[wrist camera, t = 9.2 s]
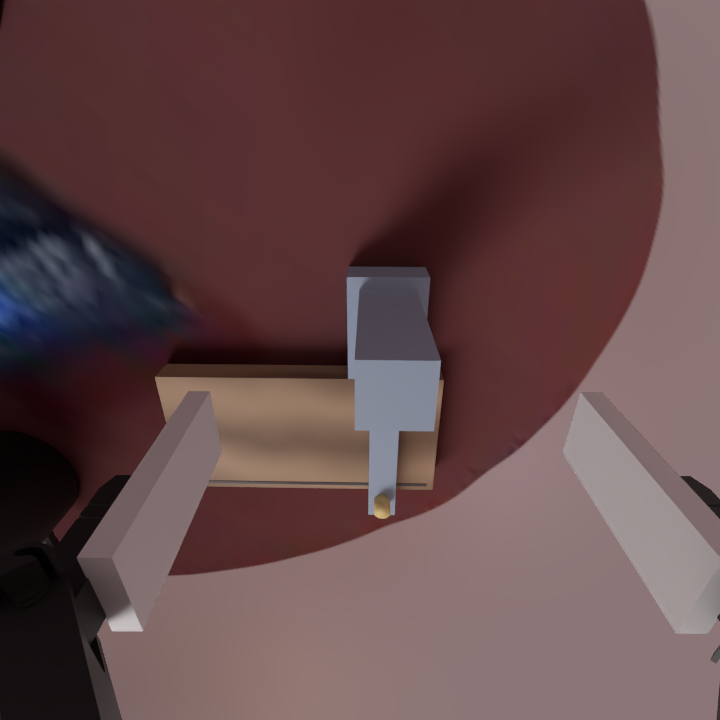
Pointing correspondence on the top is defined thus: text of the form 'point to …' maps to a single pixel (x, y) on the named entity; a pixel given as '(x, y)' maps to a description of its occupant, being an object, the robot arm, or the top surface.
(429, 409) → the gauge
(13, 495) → the mug
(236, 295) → the top surface
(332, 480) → the board
